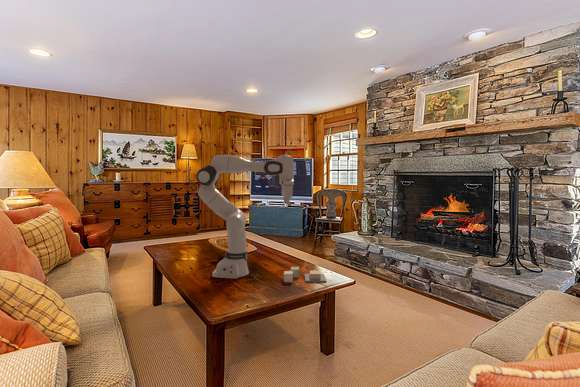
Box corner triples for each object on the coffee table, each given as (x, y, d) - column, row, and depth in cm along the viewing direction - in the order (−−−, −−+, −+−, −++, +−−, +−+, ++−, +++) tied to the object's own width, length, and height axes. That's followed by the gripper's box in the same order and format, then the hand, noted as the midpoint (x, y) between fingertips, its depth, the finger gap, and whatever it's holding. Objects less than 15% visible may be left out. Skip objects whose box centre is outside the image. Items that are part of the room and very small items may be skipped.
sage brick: (290, 277, 187) (290, 269, 187) (290, 274, 192) (290, 266, 192) (299, 277, 187) (299, 269, 187) (298, 274, 192) (298, 266, 192)
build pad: (305, 282, 179) (305, 275, 178) (304, 275, 191) (304, 269, 190) (326, 282, 179) (326, 275, 178) (323, 275, 191) (323, 269, 190)
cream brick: (284, 282, 179) (284, 273, 179) (284, 279, 184) (284, 271, 184) (292, 282, 179) (292, 273, 179) (292, 279, 184) (292, 271, 184)
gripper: (279, 180, 198) (279, 202, 199) (283, 182, 178) (283, 205, 179) (289, 180, 199) (289, 202, 200) (294, 182, 179) (294, 205, 180)
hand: (286, 203), depth 189 cm, fingers open, 8 cm apart
